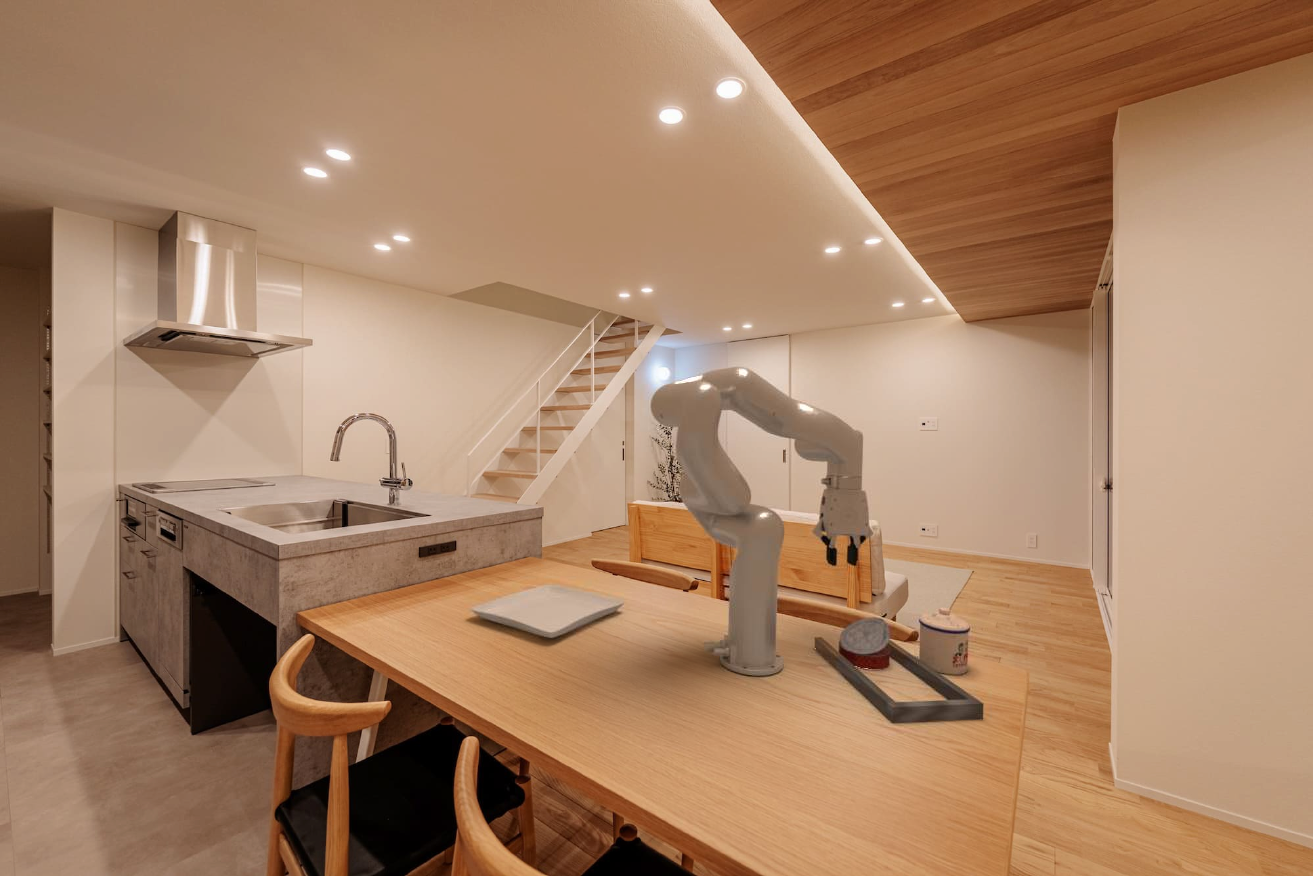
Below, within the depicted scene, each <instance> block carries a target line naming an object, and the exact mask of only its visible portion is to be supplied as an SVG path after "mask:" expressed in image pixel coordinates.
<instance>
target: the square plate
mask: <svg viewBox="0 0 1313 876" xmlns="http://www.w3.org/2000/svg"><path fill="white" fill-rule="evenodd" d="M625 603H626V601H625V600H622V599H618V598H613V597H610V596H606V595H602V594H598V593H594V592H589V591H585V590H580V589H577V588H571V587H565V586H561V585H555V584H550V583H549V584H545V585H541V586H538V587H537V586H536V587H533V588H530V589H526V590H523V591H518V592H515V593H511V594H508V595H505V596H501V597H498V598H496V599H493V600H490V601H486V602H484V603H481V604H478V605H475V606H472V607H470V608H469V610H470V611H471V612H473V613H474V614H475V615H476V616H478V617H480V618H482V619H483V620H487V621H491V622H494V623H498V624H501V625H504V626H506V627H510V628H513V629H517V630H521V631H524V632H527V633H530V634H534V635H537V636H540V637H545V638H549V639H553V638H557V637H559V636H562V635H565V634H567V633H569V632H571V631H574V630H576V629H578V628H580V627H583V626H586V625H587V624H589V623H591V622H595V621H597V620H599V619H601V618H602V617H605V616H608V615H610V614H612V613H614V612H616V611H618V610H619V609H621V608H622V606H623V605H624V604H625Z"/></svg>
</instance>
